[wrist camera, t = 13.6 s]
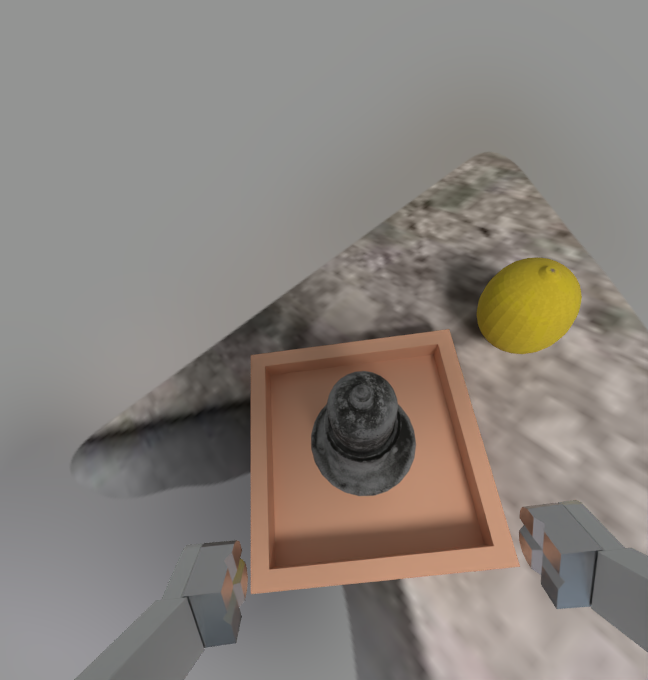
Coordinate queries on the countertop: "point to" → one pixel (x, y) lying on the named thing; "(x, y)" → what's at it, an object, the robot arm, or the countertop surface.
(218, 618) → the robot arm
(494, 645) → the countertop surface
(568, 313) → the lemon
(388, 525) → the tray
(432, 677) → the countertop surface
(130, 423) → the countertop surface
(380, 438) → the dark grey chess piece
